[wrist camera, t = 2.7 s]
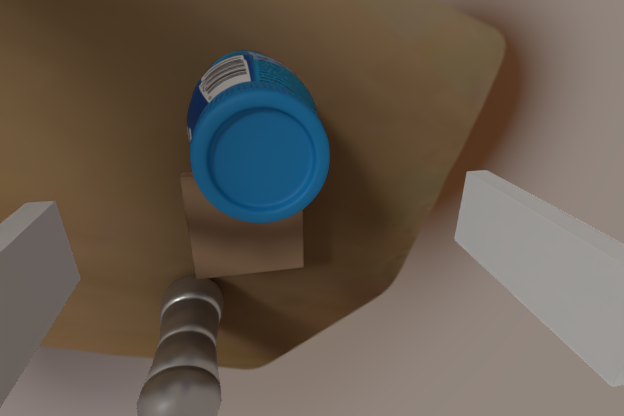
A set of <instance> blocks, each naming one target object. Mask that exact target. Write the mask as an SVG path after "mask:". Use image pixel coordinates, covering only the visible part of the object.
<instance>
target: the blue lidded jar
mask: <svg viewBox="0 0 624 416" xmlns="http://www.w3.org/2000/svg"><path fill="white" fill-rule="evenodd" d="M320 121H321V120H320V119H319V118H318V114H317V110H316V106H315V103H314V101H313V99H312V97H311V95H310V93H309V91H308V90H307V88H306V87H305V86H304V84H303V83H302V82H301V81H300V80H299V79H298V77H297V76H296V75H295V74H294V73H293V72H292V71H291V70H290V69H288V68H287V67H286V66H284V65H283V64H281V63H279V62H278V61H276V60H273V59H271V58H268V57H267V56H265V55H263V54H260V53H257V52H254V51H235V52H231V53H229V54H226V55H224V56H223V57H221V58H220V59H218V60H217V61H216V62H215V63H214V64H213V65H212V66H211V67H210V69H209V70H208V71H207V72H206V73H205V74H204V75H203V76H202V78H201V79H200V81H199V82H198V84H197V86H196V88H195V90H194V92H193V95H192V98H191V102H190V105H189V109H188V115H187V132H188V137H189V141H190V147H191V149H190V152H189V154H191V155H190V160H191V163H190V165H191V167H192V172H193V177H194V178H195V181H196V183H197V185H198V187H199V189H200V191H201V192H202V194H203V195H204V196H205V198H206V199H207V200H208V201H209V202H210V203H211V204H212V205H213V206H214V207H215V208H217V209H218V210H219V211H221V212H222V213H224V214H226V215H228V216H230V217H232V218H235V219H237V220H241V221H245V222H250V223H270V222H276V221H280V220H283V219H286V218H288V217H291V216H293V215H295V214H296V213H298V212H300V211H301V210H303V209H304V208H305V207H306V206H308V205H309V204H310V203H311V202H312V201H313V200H314V198H315V197H316V196H317V195H318V193H319V192H320V190H321V188H322V187H323V185H324V182H325V180H326V177H327V174H328V171H329V165H330V147H329V141H328V136H327V135H326V130H325V129H324V125H323V124H322V123H321V122H320Z"/></svg>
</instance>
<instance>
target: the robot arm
mask: <svg viewBox="0 0 624 416" xmlns="http://www.w3.org/2000/svg"><path fill="white" fill-rule="evenodd" d="M454 240H455V241H456V242H457V243H458V244H459V245H460V246H461V247H462V248H463V249H465V250H466V251H467V252H468V253H469V254H470V255H471V256H472V257H473V258H474V259H475V260H476V261H477V262H478V263H480V264H481V265H482V266H483V267H484V268H485V269H486V270H487V271H488V272H489V273H490V274H491V275H492V276H494V277H495V278H496V279H497V280H498V281H499V282H500V283H501V284H502V285H503V286H504V287H505V288H506V289H507V290H509V291H510V292H511V293H512V294H513V295H514V296H515V297H516V298H517V299H518V300H519V301H520V302H521V303H522V304H523V305H525V306H526V307H527V308H528V309H529V310H530V311H531V312H532V313H533V314H534V315H535V316H536V317H537V318H538V319H540V320H541V321H542V322H543V323H544V324H545V325H546V326H547V327H548V328H549V329H551V331H552V332H553V333H555V334H556V335H557V336H558V337H559V338H560V339H561V340H562V341H563V342H564V343H565V344H567V346H568V347H570V348H571V349H572V350H573V351H574V352H575V353H576V354H577V355H578V356H579V357H580V358H581V359H582V360H584V361H585V362H586V363H587V364H588V365H589V366H590V367H591V368H592V369H593V370H594V371H595V372H596V373H597V374H599V375H600V376H601V377H602V378H603V379H604V380H605V381H606V382H607V383H608V384H609V385H610V386H611V387H614V386H620V385H624V244H623V243H621V242H619V241H617V240H615V239H614V238H612V237H610V236H608V235H606V234H604V233H602V232H601V231H599V230H597V229H595V228H593V227H591V226H589V225H588V224H586V223H584V222H582V221H580V220H578V219H576V218H575V217H572V216H570V215H569V214H567V213H565V212H563V211H561V210H560V209H558V208H556V207H554V206H552V205H550V204H548V203H547V202H545V201H543V200H541V199H539V198H537V197H536V196H534V195H532V194H530V193H528V192H526V191H524V190H523V189H521V188H519V187H517V186H515V185H513V184H511V183H509V182H508V181H506V180H504V179H502V178H500V177H498V176H497V175H495V174H493V173H491V172H489V171H487V170H483V171H470V172H467V174H466V180H465V185H464V190H463V196H462V201H461V206H460V212H459V217H458V222H457V228H456V233H455V239H454ZM79 281H80V276H79V273H78V269H77V266H76V263H75V260H74V257H73V254H72V251H71V248H70V245H69V242H68V239H67V236H66V233H65V229H64V226H63V223H62V220H61V217H60V214H59V211H58V208H57V205H56V202H55V201H46V202H32V203H25V204H24V205H23V206H21V207H20V208H19V209H18V210H17V211H15V212H14V213H13V214H12V215H10V216H9V217H8V218H7V219H6V220H4V221H3V222H2V223H1V224H0V407H1V406H2V404H3V402H4V401H5V399H6V398H7V396H8V395H9V393H10V391H11V390H12V388H13V386H14V385H15V383H16V382H17V380H18V378H19V377H20V375H21V374H22V372H23V371H24V369H25V367H26V366H27V364H28V363H29V361H30V359H31V358H32V356H33V354H34V353H35V351H36V350H37V348H38V346H39V345H40V343H41V342H42V340H43V338H44V337H45V335H46V334H47V332H48V330H49V329H50V327H51V326H52V324H53V322H54V321H55V319H56V318H57V316H58V314H59V313H60V311H61V310H62V308H63V306H64V305H65V303H66V302H67V300H68V298H69V297H70V295H71V294H72V292H73V290H74V289H75V287H76V286H77V284H78V282H79Z"/></svg>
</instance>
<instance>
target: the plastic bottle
mask: <svg viewBox="0 0 624 416" xmlns="http://www.w3.org/2000/svg"><path fill="white" fill-rule="evenodd" d="M223 305H224V303H223V297H222V293H221V290H220V288H219V287H218V285H217V284H216V283H215V282H213V281H211V280H210V279H208V278H205V279H196V276H189V277H185V278H182V279H180V280H177V281H176V282H174V283H173V284H172V285H171V286H170V287H169V288H168V290H167V291H166V293H165V295H164V297H163V299H162V301H161V307H160V320H161V328H160V337H159V343H158V346H157V351H156V353H155V357H154V360H153V363H152V366H151V369H150V371H149V373H148V376H147V378H146V381H145V383H144V385H143V387H142V390H141V393H140V396H139V399H138V402H137V414H138V416H217V413H218V410H219V407H220V404H221V387H220V381H219V374H218V367H217V353H216V339H217V332H218V325H219V322H220V319H221V316H222V311H223Z"/></svg>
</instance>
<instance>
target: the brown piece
mask: <svg viewBox="0 0 624 416" xmlns="http://www.w3.org/2000/svg"><path fill="white" fill-rule="evenodd" d="M180 182H181V188H182V194H183V200H184V206H185V213H186V219H187V225H188V231H189V237H190V243H191V249H192V255H193V261H194V267H195V274H196V279H205V278H214V277H222V276H231V275H240V274H249V273H258V272H267V271H275V270H284V269H293V268H302V267H304V259H303V210H301V211H300V212H298V213H296V214H295V215H293V216H291V217H288V218H286V219H283V220H280V221H276V222H270V223H250V222H245V221H241V220H237V219H235V218H232V217H230V216H228V215H226V214H224V213H222V212H221V211H219V210H218V209H217V208H215V207H214V206H213V205H212V204H211V203H210V202H209V201H208V200H207V199H206V198H205V196H204V195H203V194H202V192H201V191H200V189H199V187H198V185H197V183H196V181H195V178H194V177H193V172H181V175H180Z"/></svg>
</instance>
